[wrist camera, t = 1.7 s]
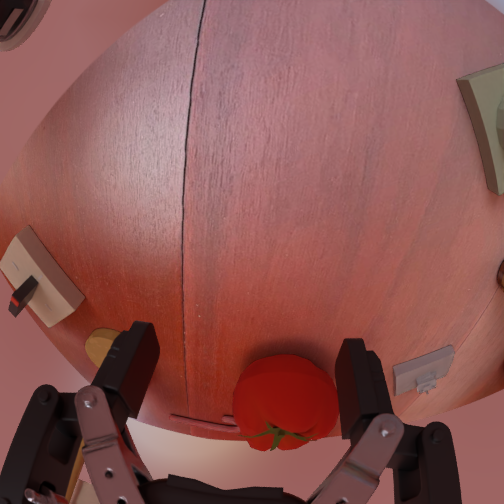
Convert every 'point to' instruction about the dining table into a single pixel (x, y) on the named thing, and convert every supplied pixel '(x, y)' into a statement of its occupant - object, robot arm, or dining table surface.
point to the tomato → (284, 403)
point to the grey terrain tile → (422, 371)
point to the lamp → (84, 493)
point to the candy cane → (208, 425)
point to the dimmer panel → (40, 277)
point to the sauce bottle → (501, 276)
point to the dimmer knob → (23, 295)
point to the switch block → (487, 120)
